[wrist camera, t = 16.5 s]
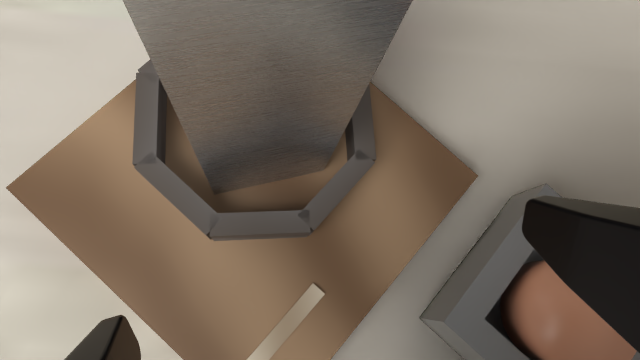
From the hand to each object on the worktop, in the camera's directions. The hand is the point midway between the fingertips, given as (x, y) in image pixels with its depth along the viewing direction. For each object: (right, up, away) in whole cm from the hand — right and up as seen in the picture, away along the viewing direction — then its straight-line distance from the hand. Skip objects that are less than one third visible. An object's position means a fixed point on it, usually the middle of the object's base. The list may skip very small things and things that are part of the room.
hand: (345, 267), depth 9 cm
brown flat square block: (-3, +2, +9) cm, 10 cm away
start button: (+9, -3, +8) cm, 12 cm away
